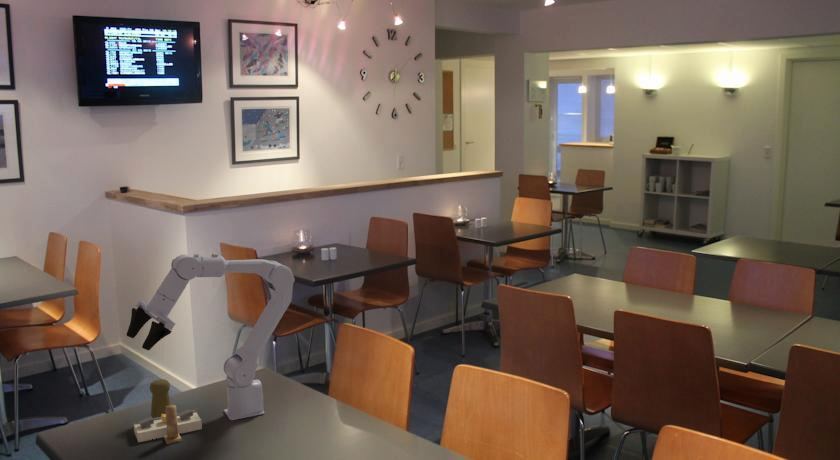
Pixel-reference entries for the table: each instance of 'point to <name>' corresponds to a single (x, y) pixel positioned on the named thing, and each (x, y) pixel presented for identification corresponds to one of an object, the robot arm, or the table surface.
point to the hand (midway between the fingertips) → (137, 342)
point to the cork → (159, 397)
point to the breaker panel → (161, 427)
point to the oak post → (172, 425)
